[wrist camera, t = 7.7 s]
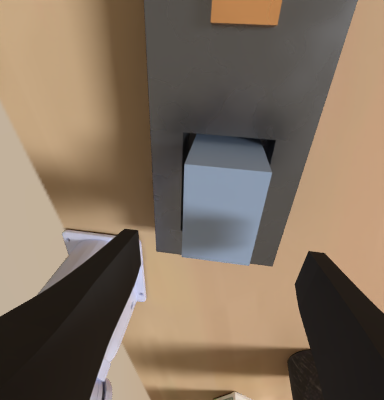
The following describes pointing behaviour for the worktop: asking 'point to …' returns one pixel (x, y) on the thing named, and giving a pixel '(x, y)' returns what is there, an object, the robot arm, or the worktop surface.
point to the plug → (223, 197)
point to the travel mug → (304, 377)
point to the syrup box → (233, 397)
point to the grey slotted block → (238, 94)
